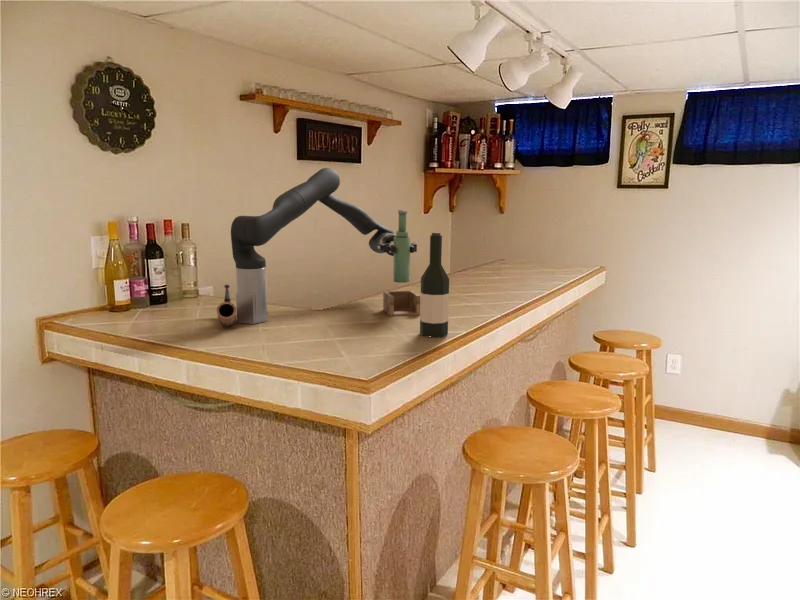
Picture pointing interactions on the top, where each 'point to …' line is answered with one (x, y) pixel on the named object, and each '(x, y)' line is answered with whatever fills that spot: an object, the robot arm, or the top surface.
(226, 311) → the brown tobacco pipe
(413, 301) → the u rest
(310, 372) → the top surface
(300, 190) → the robot arm
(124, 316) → the top surface
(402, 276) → the slim bottle
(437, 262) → the wine bottle
